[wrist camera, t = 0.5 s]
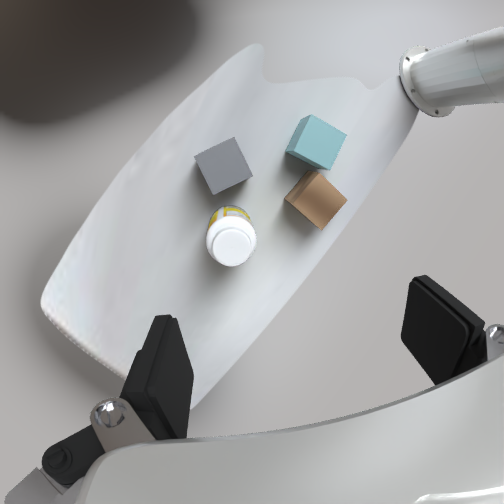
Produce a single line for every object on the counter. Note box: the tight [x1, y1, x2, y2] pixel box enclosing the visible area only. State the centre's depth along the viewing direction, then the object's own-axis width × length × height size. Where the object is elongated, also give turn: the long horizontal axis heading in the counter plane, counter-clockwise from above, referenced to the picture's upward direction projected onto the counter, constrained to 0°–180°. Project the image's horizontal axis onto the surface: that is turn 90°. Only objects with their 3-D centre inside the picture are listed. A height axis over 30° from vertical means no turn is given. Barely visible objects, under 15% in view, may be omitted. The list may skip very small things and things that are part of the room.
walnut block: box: [284, 171, 347, 230], centre depth 36 cm, size 5×5×5 cm
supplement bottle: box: [206, 205, 257, 267], centre depth 33 cm, size 6×6×10 cm
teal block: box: [285, 114, 347, 170], centre depth 33 cm, size 5×5×5 cm
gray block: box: [194, 137, 253, 195], centre depth 33 cm, size 5×5×5 cm
